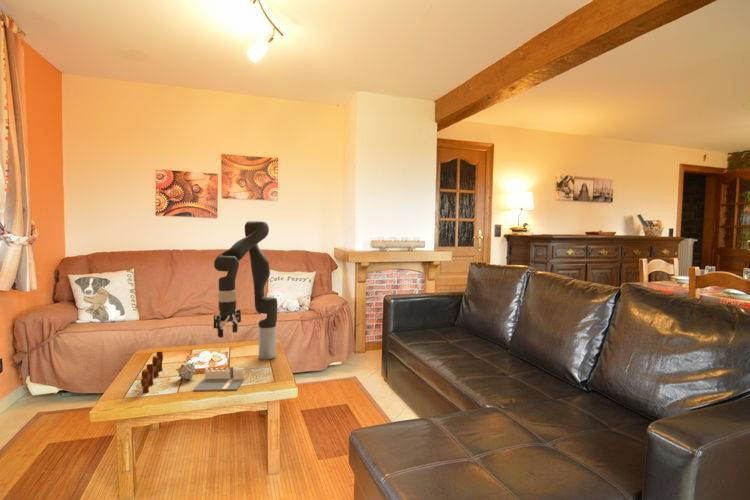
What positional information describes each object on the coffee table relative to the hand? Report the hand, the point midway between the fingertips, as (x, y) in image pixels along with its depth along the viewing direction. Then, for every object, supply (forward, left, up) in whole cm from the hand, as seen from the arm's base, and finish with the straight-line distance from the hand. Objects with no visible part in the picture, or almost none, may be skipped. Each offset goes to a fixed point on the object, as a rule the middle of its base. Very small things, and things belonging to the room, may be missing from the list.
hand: (227, 334), depth 179 cm
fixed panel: (-2, +4, -22) cm, 22 cm away
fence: (-3, -35, -22) cm, 42 cm away
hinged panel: (-2, -5, -21) cm, 22 cm away
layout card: (+3, -3, -22) cm, 22 cm away
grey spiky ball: (-4, -20, -22) cm, 30 cm away
